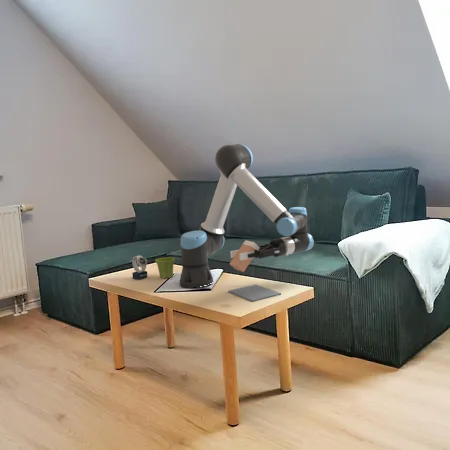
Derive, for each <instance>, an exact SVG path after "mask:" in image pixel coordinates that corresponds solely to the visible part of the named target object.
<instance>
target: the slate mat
mask: <svg viewBox="0 0 450 450" xmlns="http://www.w3.org/2000/svg"><path fill="white" fill-rule="evenodd" d="M228 292H229V293H230V294H233V295H236V296H237V297H239V298H243V299H245V300H247V301H250V302H252V303H253V302H257V301H261V300H265V299H270V298H273V296H274V297H277V295H278V296H281V295H282V292H279V291H276V290H273V289H270V288H268V287H265V286H262V285H259V284H255V283H254V284H252V285H247V286H243V287H242V286H241V287H237V288H233V289H229V290H228Z"/></svg>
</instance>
